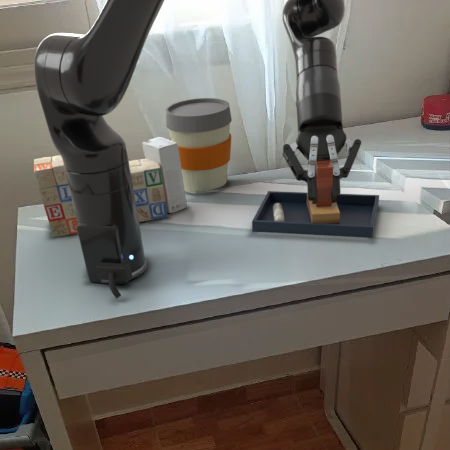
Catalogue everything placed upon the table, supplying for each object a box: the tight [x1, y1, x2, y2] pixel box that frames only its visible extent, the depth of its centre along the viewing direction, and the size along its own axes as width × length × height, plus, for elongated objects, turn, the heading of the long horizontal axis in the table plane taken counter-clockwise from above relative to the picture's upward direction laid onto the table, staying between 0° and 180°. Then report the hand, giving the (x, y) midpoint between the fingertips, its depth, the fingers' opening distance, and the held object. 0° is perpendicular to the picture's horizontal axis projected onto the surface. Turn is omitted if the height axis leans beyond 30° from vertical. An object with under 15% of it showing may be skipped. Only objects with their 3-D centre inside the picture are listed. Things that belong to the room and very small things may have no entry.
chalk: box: [273, 203, 285, 221], centre depth 106 cm, size 7×2×2 cm
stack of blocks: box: [33, 154, 168, 238], centre depth 109 cm, size 21×6×12 cm, turn 104°
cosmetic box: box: [141, 136, 188, 214], centre depth 112 cm, size 6×4×12 cm
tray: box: [251, 190, 380, 239], centre depth 106 cm, size 13×20×3 cm, turn 75°
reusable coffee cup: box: [165, 97, 233, 195], centre depth 119 cm, size 13×12×15 cm
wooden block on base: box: [307, 160, 340, 224], centre depth 103 cm, size 9×5×9 cm, turn 0°
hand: (324, 201), depth 102 cm, fingers closed on wooden block on base, 2 cm apart
